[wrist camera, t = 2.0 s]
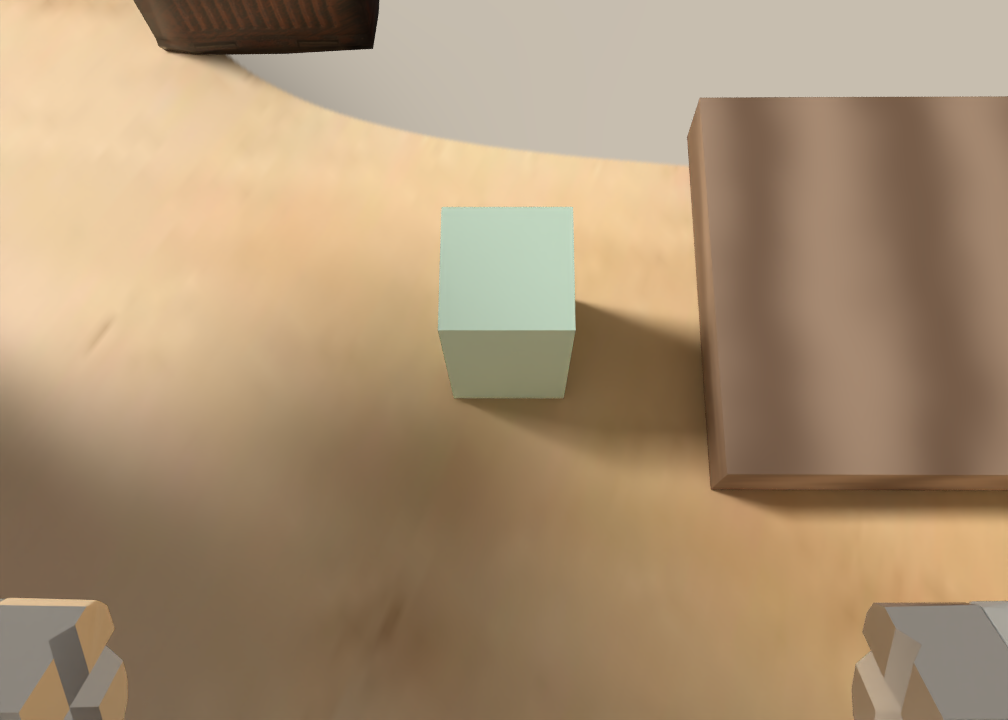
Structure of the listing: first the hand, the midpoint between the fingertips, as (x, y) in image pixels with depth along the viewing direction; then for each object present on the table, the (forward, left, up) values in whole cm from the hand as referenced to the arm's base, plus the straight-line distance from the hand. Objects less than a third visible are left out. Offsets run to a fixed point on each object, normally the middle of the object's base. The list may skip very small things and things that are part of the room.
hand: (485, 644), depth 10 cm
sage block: (0, +12, -26) cm, 29 cm away
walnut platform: (+16, +14, -26) cm, 33 cm away
